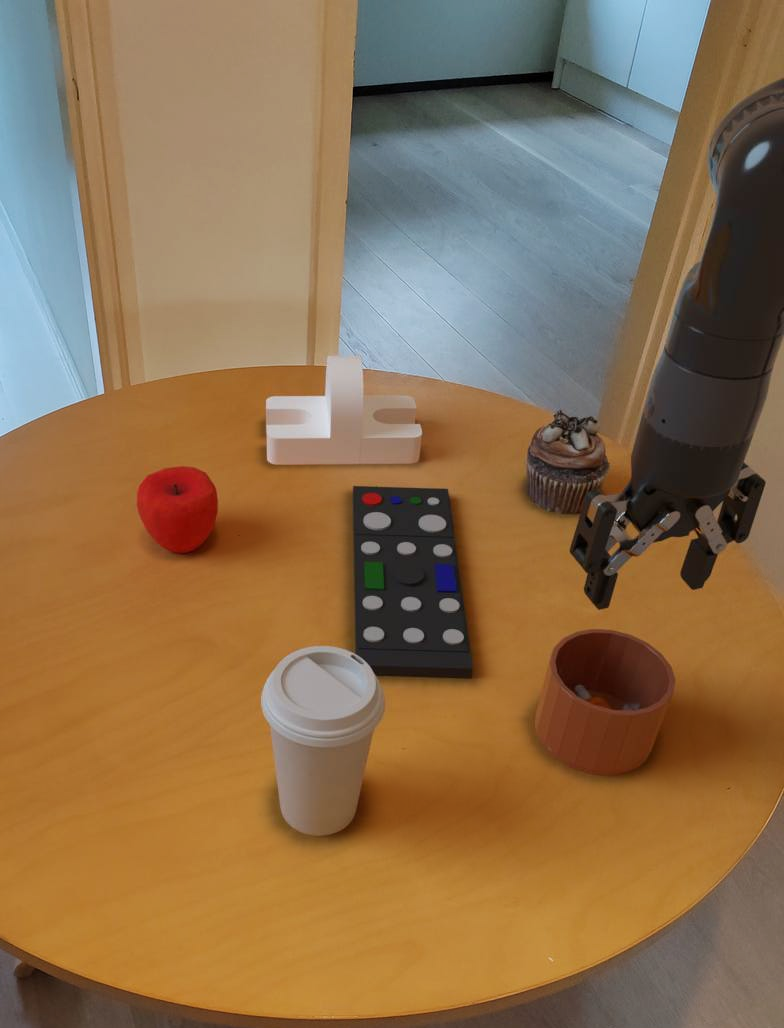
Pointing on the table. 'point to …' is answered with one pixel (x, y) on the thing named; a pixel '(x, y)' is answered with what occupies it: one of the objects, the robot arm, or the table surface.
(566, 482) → the cupcake
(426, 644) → the remote control
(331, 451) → the bracket
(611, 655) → the utensil cup
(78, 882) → the table surface
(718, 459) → the robot arm
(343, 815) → the coffee cup
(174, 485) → the apple
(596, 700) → the orange double-bulb handle
